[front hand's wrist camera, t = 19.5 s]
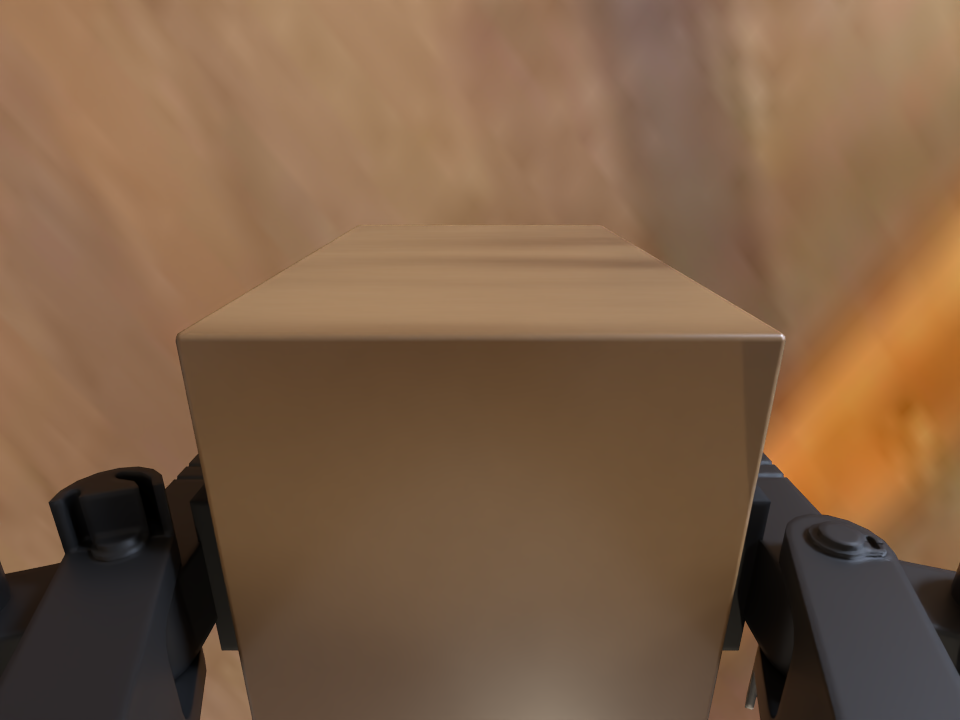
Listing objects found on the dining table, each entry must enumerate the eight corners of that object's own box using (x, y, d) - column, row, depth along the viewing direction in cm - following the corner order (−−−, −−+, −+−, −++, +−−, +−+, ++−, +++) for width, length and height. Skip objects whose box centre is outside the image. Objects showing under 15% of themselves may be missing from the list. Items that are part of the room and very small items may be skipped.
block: (357, 224, 15) (170, 334, 6) (602, 224, 15) (789, 334, 6) (376, 486, 17) (271, 828, 9) (582, 487, 17) (688, 828, 9)
